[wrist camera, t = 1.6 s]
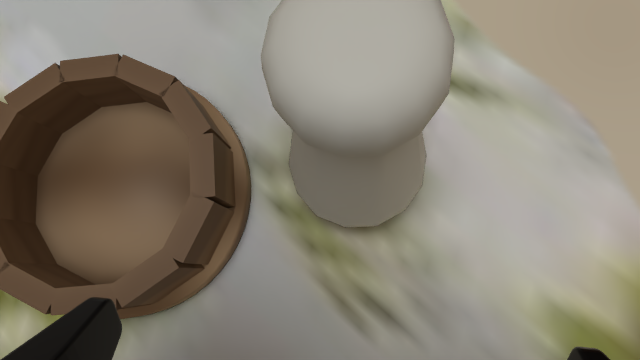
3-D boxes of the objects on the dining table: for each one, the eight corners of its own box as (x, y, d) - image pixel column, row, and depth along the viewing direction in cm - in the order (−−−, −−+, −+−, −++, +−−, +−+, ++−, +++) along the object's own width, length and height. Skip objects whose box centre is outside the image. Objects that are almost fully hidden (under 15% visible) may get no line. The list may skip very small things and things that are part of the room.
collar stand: (257, 306, 21) (232, 314, 17) (18, 325, 22) (-61, 338, 18) (245, 73, 23) (220, 30, 19) (30, 98, 24) (-37, 62, 20)
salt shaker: (278, 204, 22) (165, 108, 9) (324, 99, 23) (280, -122, 10) (392, 251, 21) (444, 218, 8) (436, 140, 22) (543, -45, 9)
